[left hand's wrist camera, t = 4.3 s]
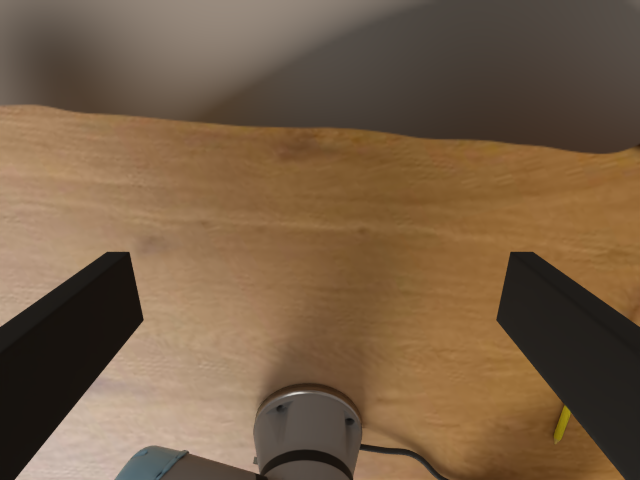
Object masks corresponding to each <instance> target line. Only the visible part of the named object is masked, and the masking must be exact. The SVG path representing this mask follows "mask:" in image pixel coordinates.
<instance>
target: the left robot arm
mask: <svg viewBox="0 0 640 480" xmlns="http://www.w3.org/2000/svg"><path fill="white" fill-rule="evenodd" d="M143 320H144V319H143V315H142V310H141V305H140V300H139V295H138V291H137V286H136V281H135V276H134V272H133V267H132V262H131V257H130V252H106V253H105V254H103V255H102V256H101V257H99V258H98V259H96V260H95V261H94V262H92V263H91V264H89V265H88V266H86V267H85V268H84V269H82V270H81V271H79V272H78V273H76V274H75V275H74V276H72V277H71V278H69V279H68V280H67V281H65V282H64V283H62V284H61V285H59V286H58V287H57V288H55V289H54V290H52V291H51V292H49V293H48V294H47V295H45V296H44V297H42V298H41V299H39V300H38V301H37V302H35V303H34V304H32V305H31V306H30V307H28V308H27V309H25V310H24V311H22V312H21V313H20V314H18V315H17V316H15V317H14V318H12V319H11V320H10V321H8V322H7V323H5V324H4V325H3V326H1V327H0V480H15V479H16V477H17V476H18V475H19V474H20V472H21V471H22V470H23V469H24V467H25V466H26V465H27V464H28V462H29V461H30V460H31V459H32V458H33V456H34V455H35V454H36V453H37V451H38V450H39V449H40V448H41V446H42V445H43V444H44V443H45V441H46V440H47V439H48V438H49V437H50V435H51V434H52V433H53V432H54V430H55V429H56V428H57V427H58V425H59V424H60V423H61V422H62V420H63V419H64V418H65V417H66V416H67V414H68V413H69V412H70V411H71V409H72V408H73V407H74V406H75V404H76V403H77V402H78V401H79V399H80V398H81V397H82V396H83V394H84V393H85V392H86V391H87V390H88V388H89V387H90V386H91V385H92V383H93V382H94V381H95V380H96V378H97V377H98V376H99V375H100V373H101V372H102V371H103V370H104V369H105V367H106V366H107V365H108V364H109V362H110V361H111V360H112V359H113V357H114V356H115V355H116V354H117V352H118V351H119V350H120V349H121V348H122V346H123V345H124V344H125V343H126V341H127V340H128V339H129V338H130V336H131V335H132V334H133V333H134V331H135V330H136V329H137V328H138V326H139V325H140V324H141V323H142V322H143ZM496 320H497V322H498V323H499V324H500V325H501V326H502V328H503V329H504V330H505V331H506V333H507V334H508V335H509V336H510V338H511V339H512V340H513V341H514V343H515V344H516V345H517V346H518V348H519V349H520V350H521V351H522V352H523V354H524V355H525V356H526V357H527V359H528V360H529V361H530V362H531V364H532V365H533V366H534V367H535V369H536V370H537V371H538V372H539V373H540V375H541V376H542V377H543V378H544V380H545V381H546V382H547V383H548V385H549V386H550V387H551V388H552V390H553V391H554V392H555V393H556V394H557V396H558V397H559V398H560V399H561V401H562V402H563V403H564V404H565V406H566V407H567V408H568V409H569V411H570V412H571V413H572V414H573V416H574V417H575V418H576V419H577V420H578V422H579V423H580V424H581V425H582V427H583V428H584V429H585V430H586V432H587V433H588V434H589V435H590V437H591V438H592V439H593V440H594V441H595V443H596V444H597V445H598V446H599V448H600V449H601V450H602V451H603V453H604V454H605V455H606V456H607V458H608V459H609V460H610V461H611V462H612V464H613V465H614V466H615V467H616V469H617V470H618V471H619V472H620V474H621V475H622V476H623V477H624V479H625V480H640V327H639V326H637V325H636V324H635V323H633V322H632V321H630V320H629V319H628V318H626V317H625V316H623V315H622V314H620V313H619V312H618V311H616V310H615V309H613V308H612V307H610V306H609V305H608V304H606V303H605V302H603V301H602V300H600V299H599V298H598V297H596V296H595V295H593V294H592V293H591V292H589V291H588V290H586V289H585V288H583V287H582V286H581V285H579V284H578V283H576V282H575V281H573V280H572V279H571V278H569V277H568V276H566V275H565V274H564V273H562V272H561V271H559V270H558V269H556V268H555V267H554V266H552V265H551V264H549V263H548V262H546V261H545V260H544V259H542V258H541V257H539V256H538V255H537V254H535V253H534V252H510V257H509V262H508V267H507V272H506V276H505V281H504V286H503V291H502V295H501V300H500V305H499V310H498V315H497V319H496ZM361 440H362V426H361V419H360V415H359V412H358V410H357V408H356V406H355V405H354V403H353V402H352V401H351V400H350V399H349V398H348V397H346V396H345V395H344V394H342V393H341V392H339V391H337V390H335V389H333V388H330V387H327V386H323V385H317V384H298V385H292V386H288V387H285V388H283V389H280V390H278V391H276V392H275V393H273V394H272V395H270V396H269V397H268V398H267V399H266V400H265V401H264V402H263V403H262V405H261V406H260V408H259V410H258V412H257V415H256V420H255V425H254V442H255V448H256V454H257V457H254V462H253V464H257V465H258V466H259V472H260V475H259V474H256V473H253V472H250V471H246V470H243V469H240V468H236V467H233V466H229V465H226V464H223V463H219V462H216V461H212V460H209V459H206V458H202V457H199V456H195V455H192V454H189V451H186V450H183V451H178V450H173V449H169V448H164V447H160V446H149V447H146V448H143V449H142V450H140V451H139V452H137V453H136V454H135V455H134V456H133V457H132V458H131V459H130V460H129V461H128V463H127V464H126V465H125V466H124V467H123V469H122V470H121V471H120V473H119V474H118V476H117V477H116V478H115V480H353V474H354V470H355V466H356V461H357V457H358V453H359V450H364V451H371V452H377V453H384V454H399V455H407V456H410V457H413V458H415V459H417V460H418V461H419V462H421V463H422V464H423V465H424V466H425V467H426V468H427V469H428V470H429V472H430V473H431V474H432V475H433V476H434V477H436V478H437V479H438V480H448V479H446V478H444V477H443V476H441V475H440V474H439V473H437V472H436V471H435V470H434V468H433V467H432V466H431V465H430V464H429V463H428V462H427V461H426V460H425V459H424V458H423V457H421V456H420V455H418V454H417V453H415V452H412V451H410V450H406V449H397V448H384V447H377V446H371V445H364V444H361Z"/></svg>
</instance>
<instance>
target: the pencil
mask: <svg viewBox="0 0 640 480" xmlns="http://www.w3.org/2000/svg"><path fill="white" fill-rule="evenodd" d="M570 415H571V412H570V411H569V409H568V408H567V407H566V406H565V405H564V408H563V410H562V413H561V416H560V419H559V421H558V424H557V427H556V430H555V432H554V435H553V436H554V444H556V443H558V442H559V441H560V440H561V439H562V436H563V433H564V431H565V428H566V425H567V423H568V420H569V417H570Z"/></svg>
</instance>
